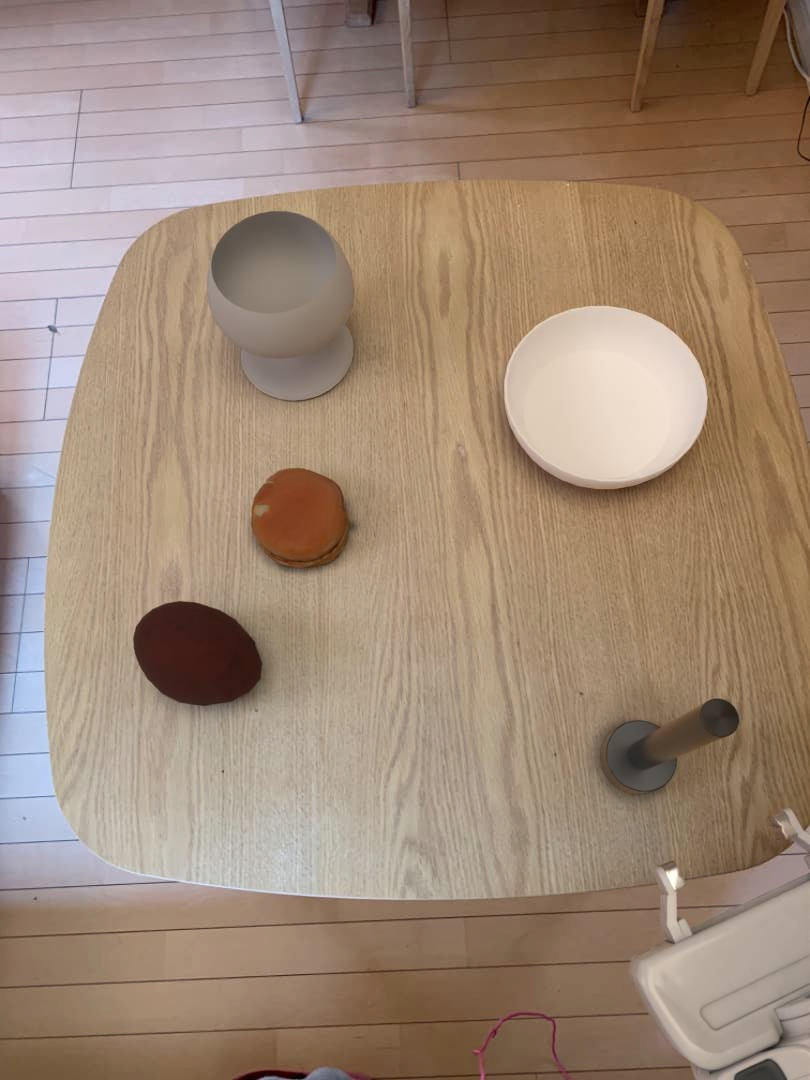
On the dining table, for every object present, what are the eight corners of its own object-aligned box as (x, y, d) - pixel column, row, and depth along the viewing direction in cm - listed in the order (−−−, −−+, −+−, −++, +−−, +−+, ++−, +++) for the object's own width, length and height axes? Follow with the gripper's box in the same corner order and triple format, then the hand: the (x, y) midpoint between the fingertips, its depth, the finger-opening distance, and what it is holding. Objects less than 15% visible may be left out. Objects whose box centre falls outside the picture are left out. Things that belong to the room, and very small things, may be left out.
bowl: (622, 312, 92) (635, 275, 86) (728, 454, 86) (749, 425, 80) (464, 387, 89) (467, 355, 84) (562, 540, 83) (572, 517, 77)
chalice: (281, 434, 88) (253, 353, 74) (207, 344, 92) (168, 252, 78) (388, 361, 91) (381, 270, 77) (312, 277, 95) (291, 176, 81)
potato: (174, 602, 82) (143, 571, 73) (287, 645, 80) (269, 620, 71) (132, 685, 79) (95, 664, 70) (248, 733, 77) (225, 717, 69)
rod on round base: (676, 740, 76) (779, 691, 54) (656, 805, 74) (754, 782, 52) (612, 714, 77) (686, 655, 55) (590, 778, 75) (659, 743, 53)
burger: (363, 551, 83) (359, 534, 79) (273, 585, 82) (264, 569, 78) (330, 467, 87) (324, 446, 82) (243, 498, 86) (233, 479, 81)
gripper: (985, 981, 55) (865, 777, 60) (705, 1120, 53) (603, 897, 57) (931, 969, 61) (826, 784, 65) (678, 1094, 59) (587, 893, 63)
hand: (720, 838), depth 61 cm, fingers open, 8 cm apart
